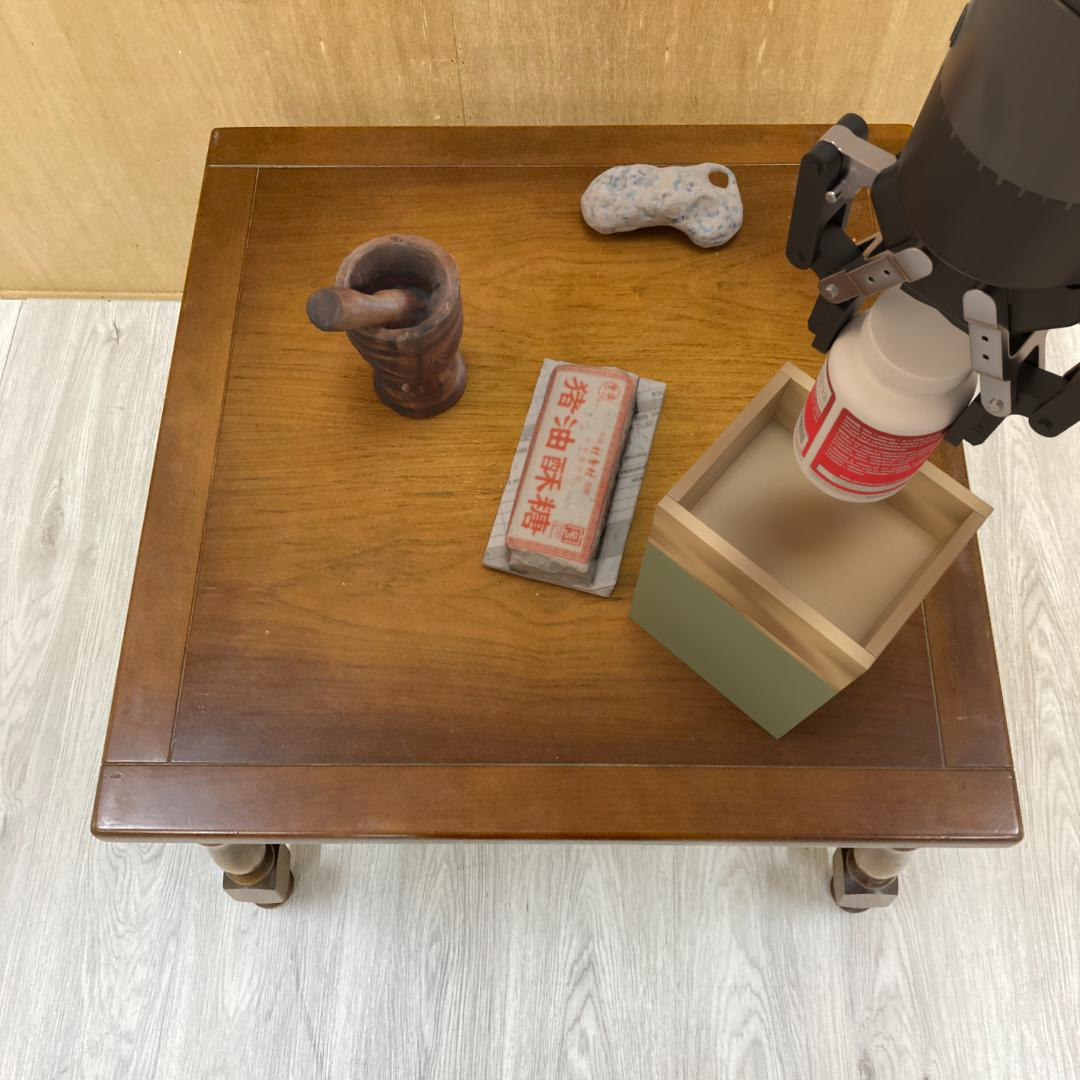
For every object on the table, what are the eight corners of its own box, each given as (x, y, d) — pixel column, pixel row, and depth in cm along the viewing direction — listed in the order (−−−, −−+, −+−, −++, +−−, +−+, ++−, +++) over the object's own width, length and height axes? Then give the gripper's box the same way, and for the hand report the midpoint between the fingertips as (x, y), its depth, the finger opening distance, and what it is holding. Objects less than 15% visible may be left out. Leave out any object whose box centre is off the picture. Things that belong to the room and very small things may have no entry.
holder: (955, 544, 59) (995, 508, 54) (838, 693, 56) (868, 669, 51) (767, 406, 62) (787, 360, 57) (647, 540, 59) (656, 504, 54)
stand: (873, 619, 74) (955, 544, 59) (777, 740, 71) (838, 693, 56) (725, 505, 77) (767, 406, 62) (627, 616, 74) (647, 540, 59)
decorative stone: (584, 262, 85) (586, 223, 80) (577, 196, 87) (579, 155, 83) (742, 252, 85) (754, 212, 81) (731, 187, 88) (742, 144, 83)
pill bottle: (939, 477, 50) (1040, 361, 39) (830, 526, 49) (903, 420, 39) (873, 375, 52) (953, 240, 41) (767, 421, 51) (821, 294, 41)
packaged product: (615, 582, 70) (477, 547, 71) (612, 602, 75) (481, 569, 76) (672, 360, 76) (544, 331, 77) (666, 391, 81) (544, 363, 82)
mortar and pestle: (457, 469, 79) (428, 329, 60) (347, 455, 79) (284, 313, 60) (480, 339, 83) (460, 170, 64) (376, 327, 83) (325, 156, 64)
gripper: (1384, 142, 28) (1084, 422, 43) (940, -105, 31) (811, 237, 47) (1248, 321, 26) (986, 546, 42) (792, 36, 29) (709, 344, 45)
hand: (894, 381), depth 44 cm, fingers closed on pill bottle, 6 cm apart
